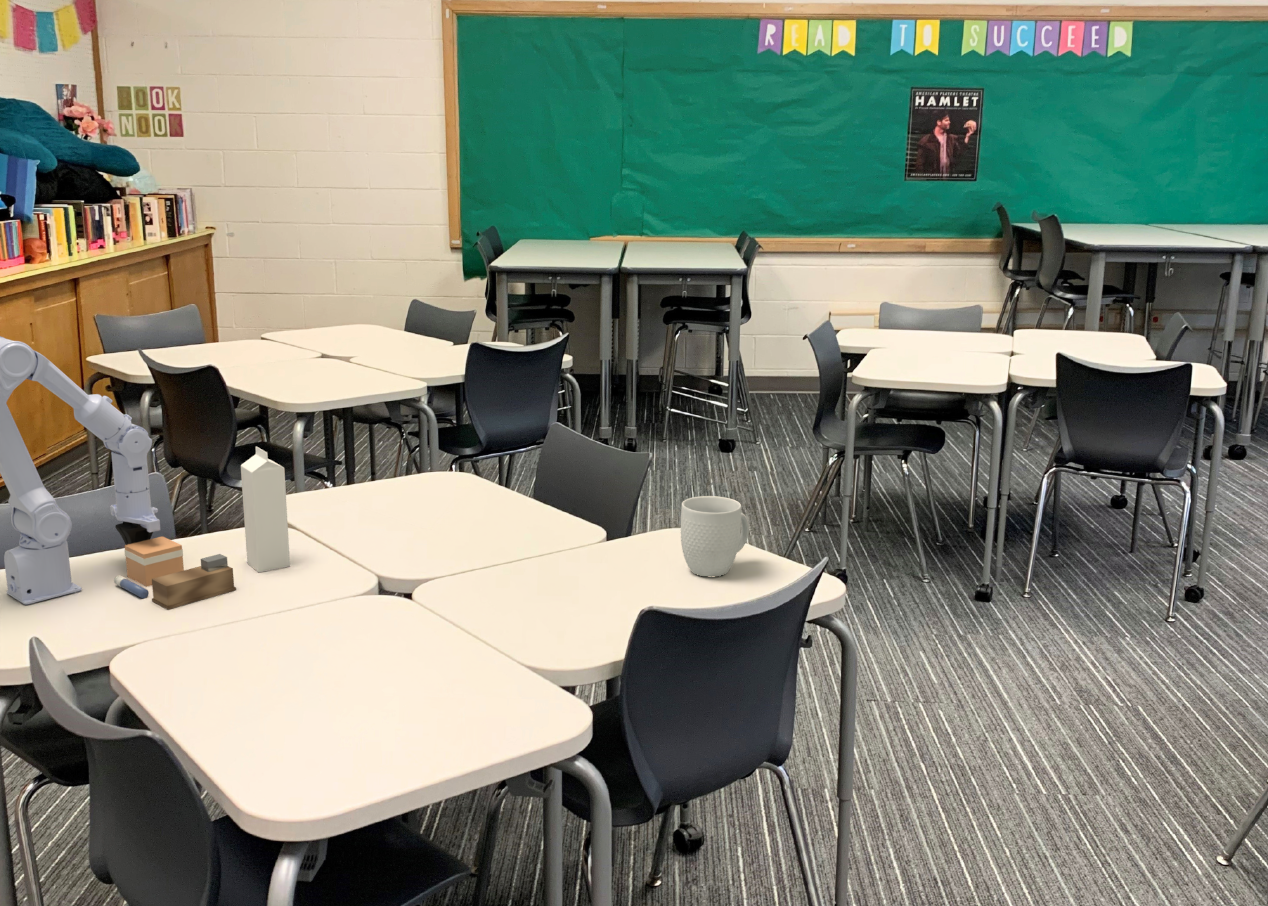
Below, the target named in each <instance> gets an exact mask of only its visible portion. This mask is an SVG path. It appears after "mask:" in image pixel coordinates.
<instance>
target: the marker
mask: <svg viewBox="0 0 1268 906" xmlns="http://www.w3.org/2000/svg"><path fill="white" fill-rule="evenodd" d="M113 583H114V584H115V585H116V586H118V587H120V588H121V589H124V590H126V591H128V592H130V593H131V594H134V595H135V596H137V597H139V598H141V599H146V598H147V597H148V596H149V595H150V594H149V592H150V591H149V590H148V589H147V588H144V587H143V586H141V585H139V584H137V583H135V582H133V581H131V580H129V579H128V577H124V576H123V575H120V574H119V575H117V576H116V577H115V578H114V579H113Z"/></svg>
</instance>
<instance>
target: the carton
mask: <svg viewBox="0 0 1268 906" xmlns="http://www.w3.org/2000/svg"><path fill="white" fill-rule="evenodd" d="M183 556H184V550H183V545H182V544H180V543H179V542H175V541H174V540H172V539H170V538H167V537H165V536H164V535H163V536H158V537H155V538H151V539H149V540H145V541H141V542H137V543H133V544H128V545H126V544H125V545H124V557H125V565H126V573H127V575H126V576H127V577H126V578H129V579H131V580H133V581H135V582H137V583H139V584H140V585H142V586H144V587H151V586H152V579H154V578H157V577H161V576H165V575H169V574H172V573H176V572H180V571H184V570H185V568H184V557H183Z"/></svg>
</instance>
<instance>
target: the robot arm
mask: <svg viewBox="0 0 1268 906" xmlns="http://www.w3.org/2000/svg"><path fill="white" fill-rule="evenodd" d="M26 380H29V381H32V382H37V383H39V384H40V385H42V386H43V387H44V388H45V389H47V390H49V392H51V393H53V394H54V395H56V396H57V397H58V398H59V399H60V400H62V401H63V402H65V403H66V404H68V406H70V407H71V408H72V409H73V417H74V419H75V421H77V422H78V423H79V424H81V425H82V426H83V427H84V428H85V429H87V430H88V431H89V432H90V433H92V434H93V435H94V436H96V437H97V438H98V439H99V440H101V441H102V442H103V445H104V446H105V448H106V449H108V450H110V452H111V453H110V455H111V462H112V463H111V464H112V466H111V467H112V475H113V485H114V486H113V487H114V495H115V497H114V498H115V504H111V505H110V507H109V508H110V514H111V515H110V516H113V517H115V519H116V520H117V521H118V522H119V521H120V522H122V523H117V524H115V529H116V531H117V533H119V535H120V536H121V538H122V540H123V542H124V544H125V545H128V544H133V543H137V542H141V541H145V540H149V539H152V536H153V534H154V532H158V531H161V521H160V519H159V518H158V517H157V516H156V515H155V514H156V513H157V514H158V512H159V509H158V508H157V507H154V506H152V501H151V499H152V498H151V492H150V491H151V489H150V479H149V478H150V477H149V468H148V467H149V466H148V454H149V452H150V451H151V448H152V445H153V438H150V436H149V432H148V431H147V429H145V428H144V427H143V426H140V425H137V424H134V423H132V420H133V418H132V416H130V415H129V414H126V413H125V414H124V413H122V412H121V411H120V410H118V409H117V408H116V407H115V406H114V405H112V403H113V399H111V398H110V397H109V396H107V395H101V394H99V393H96V394H93V393H92V394H88V393H87V392H85V391H84V389H82V388H81V387H80V386H79V385H77V384H76V383H75V382H74V381H73V380H72V379H71V378H70V377H69V376H67V375H66V374H65V373H64V372H63V371H62V370H61V369H59V367H57V366H56V365H55V364H54V363H53V362H52V361H50V359H48V358H47V357H46V356H45V355H43V354H41V353H40V352H38V351H36V350H34V349H33V348H32V347H31V346H29V345H28V344H27V343H25V342H24V341H19V340H12V339H8V338H5V337H4V336H1V335H0V476H1V477H2V480H3V482H4V484H5V486H6V488H7V490H8V494H9V499H8V500H7V501H8V504H9V506H10V510H11V512H10V513H11V516H10V522H11V525H12V527H13V529H14V530H15V531H17V532H18V533H19V534H20V535H19V536H20V537H19V541H18V542H19V544H18V545H17V546H16V547H12V548H11V549H8V550H6V551H5V552H4V557H3V559H4V561H3V562H4V571H5V578H6V586H7V590H5V591H6V594H7V595H9V596H11V597H12V598H13V599H15V600H16V601H18V602H19V603H22V604H23V605H31V604H34V603H38V602H43V601H45V600H49V599H53V598H58V597H61V596H65V595H68V594H72V593H77V592H81V591H82V590H83V587H82V586H80V585H78V584H77V583H74V582H73V581H72V574H71V573H72V572H71V571H72V570H71V564H70V563H71V562H70V555H69V554H70V553H69V545H68V537H69V535H70V534H71V532H72V531H71V530H72V526H73V525H72V524H73V523H72V521H71V520H72V519H71V517H70V516H69V514H68V513H67V512H66V511H64V510H63V509H61V507H60V506H59V505H58V503H57V501H56V499H55V497H53V495H52V494H51V493H50V492H49V491H48V489H47V488H46V487H45V485H44V483H43V481H42V479H41V476H40V475H39V472H38V470H37V468H36V466H35V463H34V461H33V459H32V457H31V454H30V453H29V450H28V447H27V446H26V444H25V442H24V439H23V437H22V435H21V432H20V430H19V428H18V426H17V424H16V421H15V418H13V415H12V412H11V410H10V408H9V407H8V404H7V403H8V400H9V398H10V397H11V395H12V394H13V392H14V390H15V389H16V388H17V387H18V386H20V385H22V383H23V382H24V381H26Z"/></svg>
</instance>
